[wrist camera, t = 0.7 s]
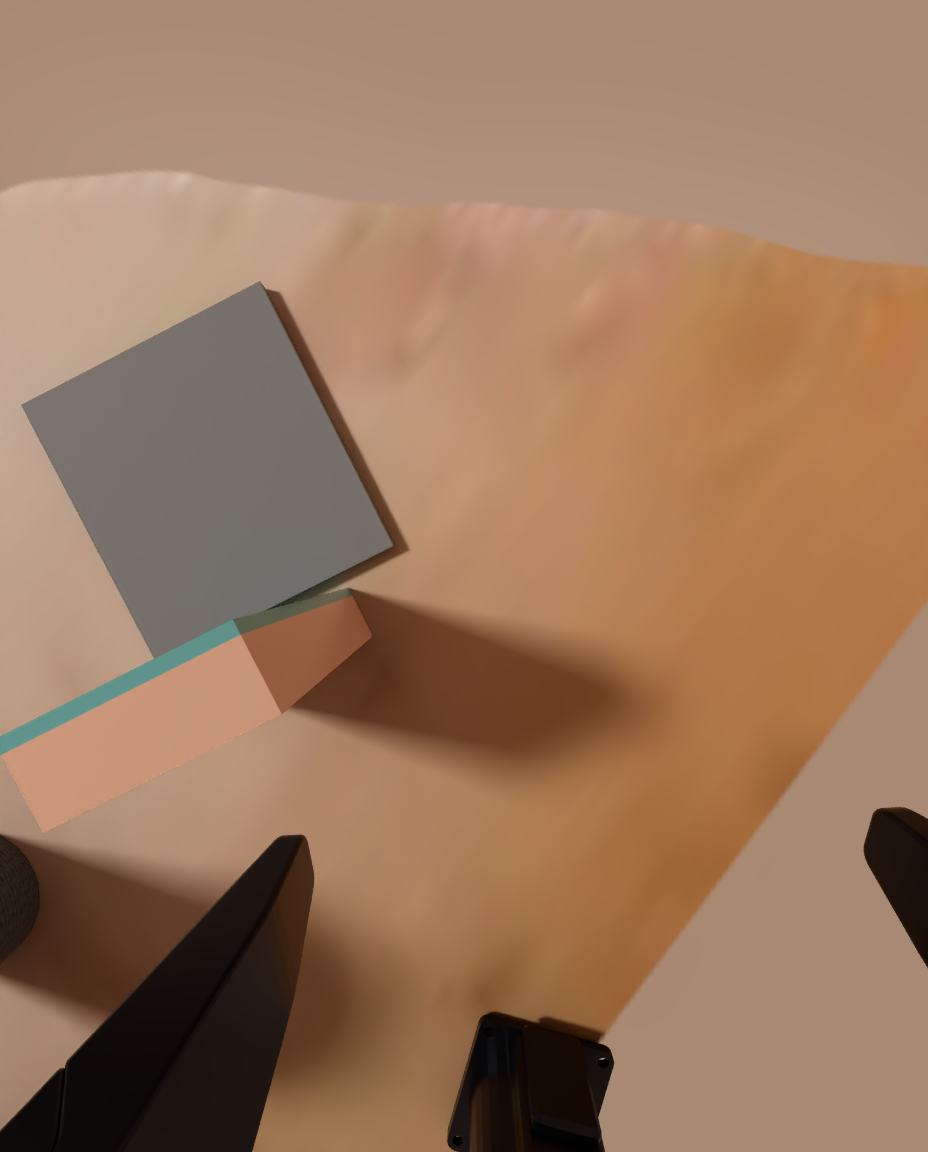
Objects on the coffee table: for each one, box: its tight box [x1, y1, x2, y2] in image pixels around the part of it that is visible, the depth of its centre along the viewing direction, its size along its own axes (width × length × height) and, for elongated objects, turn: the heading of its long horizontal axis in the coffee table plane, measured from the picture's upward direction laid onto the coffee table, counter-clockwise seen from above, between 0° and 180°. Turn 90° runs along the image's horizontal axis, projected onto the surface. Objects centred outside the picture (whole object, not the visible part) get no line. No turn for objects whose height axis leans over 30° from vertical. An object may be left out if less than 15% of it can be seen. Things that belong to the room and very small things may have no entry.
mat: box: [21, 281, 395, 659], centre depth 24 cm, size 13×12×1 cm
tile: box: [0, 588, 373, 833], centre depth 18 cm, size 2×6×12 cm, turn 116°
